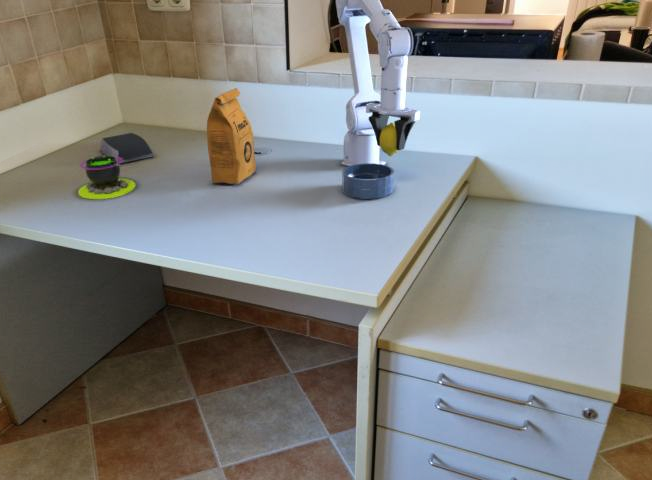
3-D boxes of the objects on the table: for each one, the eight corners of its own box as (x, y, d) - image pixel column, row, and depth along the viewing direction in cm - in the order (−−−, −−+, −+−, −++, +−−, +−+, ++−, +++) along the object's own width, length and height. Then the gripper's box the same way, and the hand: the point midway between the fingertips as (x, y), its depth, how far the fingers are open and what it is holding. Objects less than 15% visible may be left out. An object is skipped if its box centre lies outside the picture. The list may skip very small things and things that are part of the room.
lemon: (403, 153, 148) (405, 120, 144) (399, 160, 144) (401, 126, 140) (381, 152, 150) (382, 119, 146) (376, 159, 146) (378, 125, 141)
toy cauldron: (146, 182, 162) (139, 141, 156) (111, 202, 151) (102, 158, 145) (102, 177, 167) (93, 137, 161) (66, 195, 156) (54, 153, 150)
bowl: (332, 192, 148) (331, 172, 145) (365, 179, 155) (365, 159, 152) (370, 204, 140) (371, 183, 138) (403, 189, 147) (404, 169, 144)
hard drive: (114, 166, 175) (111, 152, 173) (97, 150, 190) (94, 137, 187) (156, 157, 180) (154, 143, 178) (137, 142, 194) (135, 130, 192)
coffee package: (262, 173, 163) (256, 87, 150) (239, 188, 154) (230, 98, 141) (231, 169, 167) (222, 85, 154) (206, 184, 158) (195, 96, 146)
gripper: (358, 87, 141) (357, 145, 148) (408, 94, 132) (404, 156, 139) (377, 82, 144) (375, 139, 152) (427, 88, 135) (422, 149, 143)
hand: (390, 147), depth 146 cm, fingers closed on lemon, 5 cm apart
